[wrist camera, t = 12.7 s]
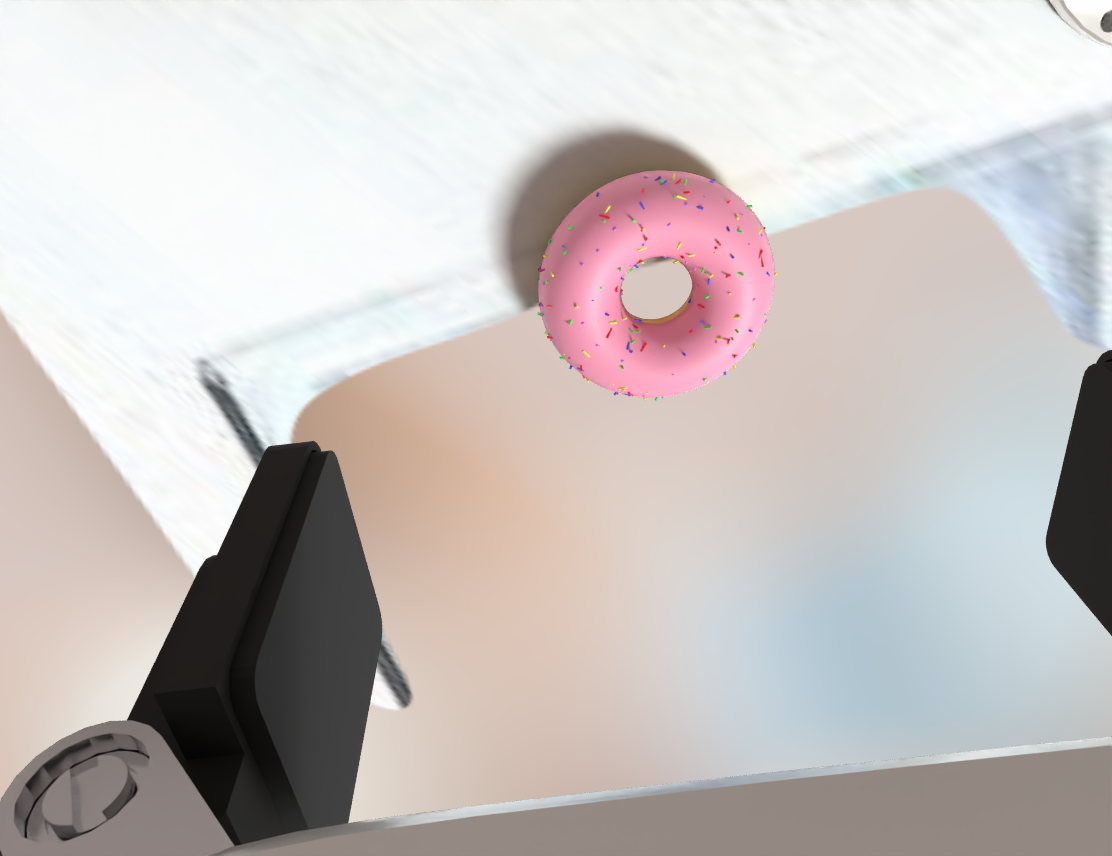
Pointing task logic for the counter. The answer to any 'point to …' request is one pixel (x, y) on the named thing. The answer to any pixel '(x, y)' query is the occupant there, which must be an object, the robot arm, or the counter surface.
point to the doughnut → (629, 238)
